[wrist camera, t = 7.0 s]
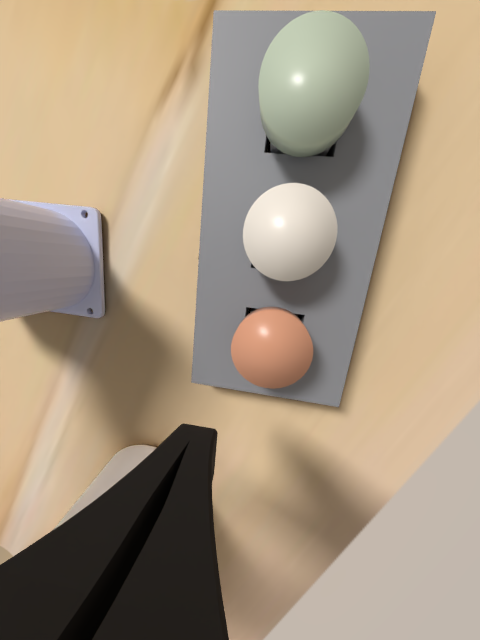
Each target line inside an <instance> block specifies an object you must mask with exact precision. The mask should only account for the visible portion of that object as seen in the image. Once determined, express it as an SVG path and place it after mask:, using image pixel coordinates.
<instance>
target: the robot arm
mask: <svg viewBox="0 0 480 640" xmlns="http://www.w3.org/2000/svg"><path fill="white" fill-rule="evenodd" d="M86 212H87V213H88V217H87V218H86V215H85V214H86ZM91 309H92V310H93V313H92V312H91ZM47 311H51V312H58V313H65V314H71V315H78V316H85V317H92V318H101V317H103V316H104V315H105V298H104V273H103V248H102V223H101V213H100V212H99V210H97V209H95V208H92V207H83V206H73V205H62V204H52V203H41V202H30V201H20V200H9V199H3V198H0V321H5V320H10V319H14V318H19V317H23V316H28V315H33V314H37V313H42V312H47ZM216 444H217V431H216V430H215V429H212V428H206V427H200V426H194V425H189V424H181V425H180V426H179V427H178V428H177V429H176V430H175V431H174V432H173V433H172V434H171V435H170V436H169V437H168V438H167V439H166V440H164V441H163V442H162V443H161V444H160V445H159V446H158V447H157V448H156V449H155V450H154V451H153V452H152V453H151V454H149V455H148V456H147V457H146V458H145V459H144V460H143V461H142V462H140V463H139V464H138V465H137V466H136V467H135V468H134V469H133V470H131V471H130V472H129V473H128V474H127V475H125V476H124V477H123V478H122V479H120V480H119V481H118V482H117V483H116V484H114V485H113V486H112V487H111V488H110V489H108V490H107V491H106V492H105V493H103V494H102V495H101V496H99V497H98V498H97V499H96V500H94V501H93V502H92V503H90V504H89V505H88V506H86V507H85V508H84V509H82V510H81V511H79V512H78V513H77V514H75V515H74V516H73V517H71V518H70V519H68V520H67V521H66V522H64V523H63V524H61V525H60V526H58V527H57V528H55V529H54V530H53V531H51V532H50V533H48V534H47V535H45V536H44V537H42V538H41V539H39V540H38V541H36V542H35V543H33V544H32V545H30V546H29V547H27V548H26V549H24V550H23V551H21V552H20V553H18V554H17V555H15V556H13V557H12V558H10V559H9V560H7V561H6V562H4V563H3V564H1V565H0V640H229V638H228V631H227V625H226V619H225V612H224V606H223V600H222V593H221V586H220V578H219V570H218V563H217V554H216V544H215V534H214V522H213V506H212V480H213V475H214V467H215V455H216Z"/></svg>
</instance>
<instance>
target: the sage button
mask: <svg viewBox="0 0 480 640" xmlns="http://www.w3.org/2000/svg"><path fill="white" fill-rule="evenodd" d="M369 68H370V63H369V54H368V49H367V45H366V43H365V40H364V38H363V36H362V34H361V32H360V31H359V29H358V28H357V27H356V25H355V24H354V23H353V22H352V21H351V20H349V19H348V18H346V17H345V16H343V15H341V14H339V13H336V12H332V11H324V10H321V11H313V12H309V13H306V14H303V15H301V16H299V17H297V18H295V19H294V20H292V21H291V22H289V23H288V24H287V25H286V26H285V27H284V28H283V29H281V30H280V32H279V33H278V34H277V35H276V36H275V38H274V39H273V41H272V42H271V44H270V45H269V47H268V49H267V51H266V53H265V56H264V58H263V61H262V65H261V69H260V74H259V85H258V88H259V103H260V117H261V122H262V126H263V129H264V131H265V134H266V136H267V137H268V139H269V141H270V142H271V153H279V154H287V155H290V156H294V157H309V156H325V157H326V155H327V153H328V151H329V149H330V147H331V146H332V145H333V144H334V143H335V142H336V141H337V140H338V139H339V138H340V137H341V136H342V134H343V133H344V132H345V130H346V128H347V127H348V125H349V123H350V121H351V120H352V118H353V116H354V114H355V113H356V111H357V109H358V107H359V105H360V103H361V101H362V99H363V97H364V94H365V91H366V88H367V84H368V79H369Z"/></svg>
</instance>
